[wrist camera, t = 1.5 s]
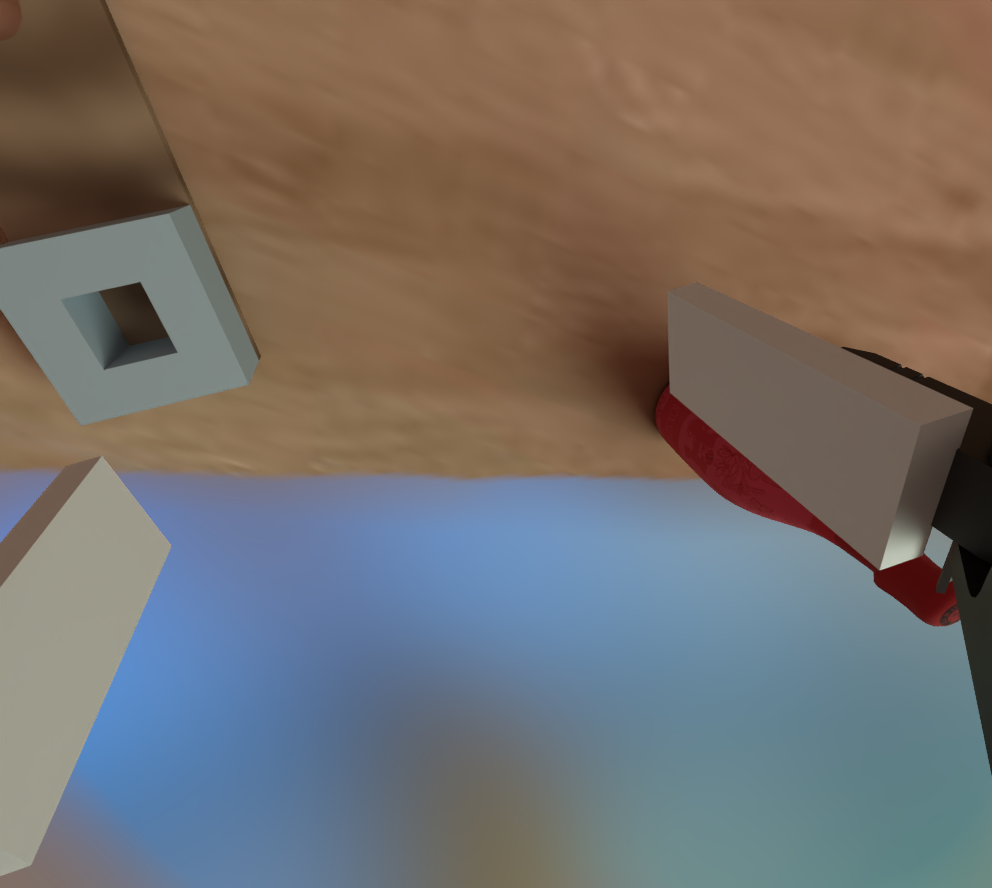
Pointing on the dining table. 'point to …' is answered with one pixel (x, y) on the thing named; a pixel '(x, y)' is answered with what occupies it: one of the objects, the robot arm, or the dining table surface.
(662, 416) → the wine bottle
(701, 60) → the dining table surface
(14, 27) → the peg
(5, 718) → the robot arm
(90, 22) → the board
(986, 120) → the dining table surface
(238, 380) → the socket
